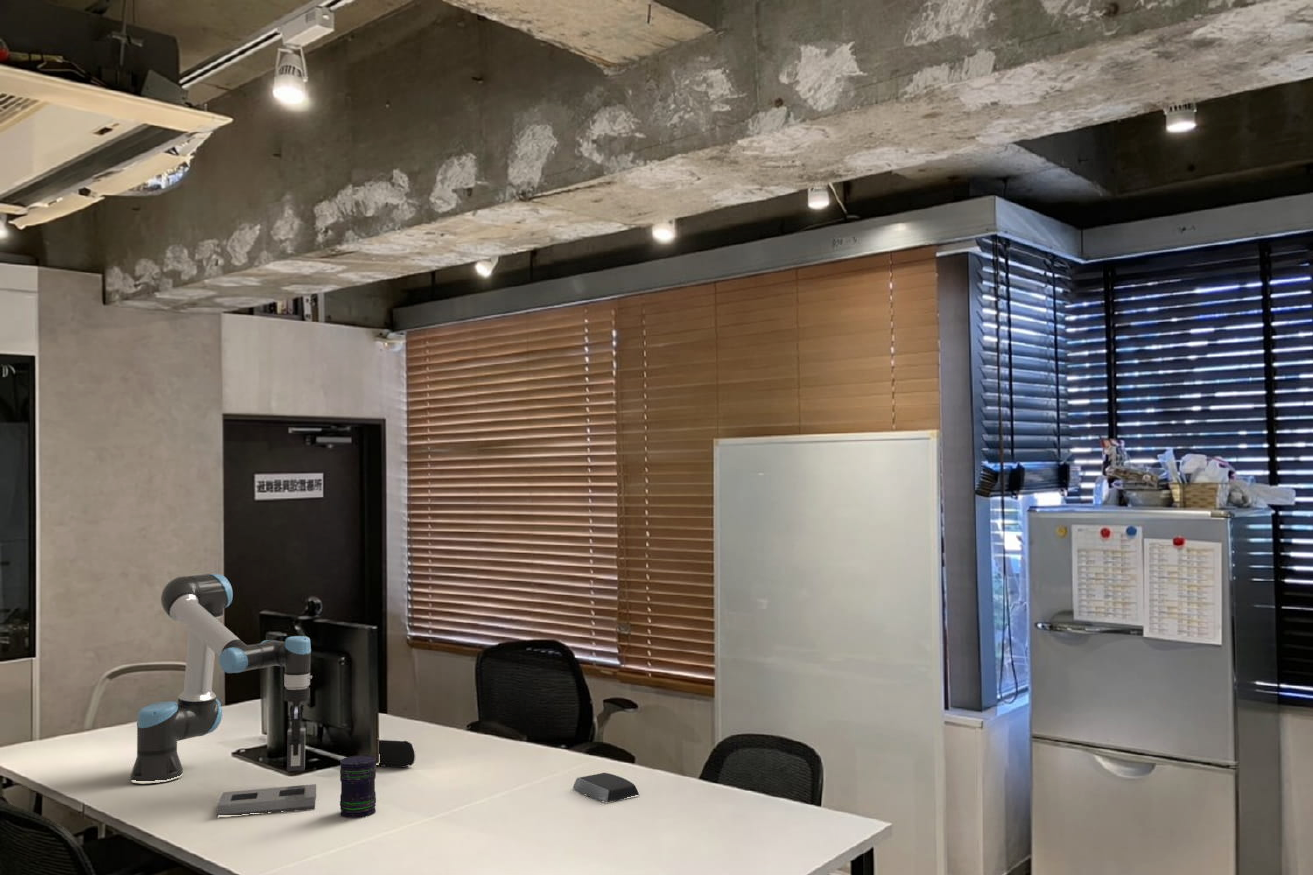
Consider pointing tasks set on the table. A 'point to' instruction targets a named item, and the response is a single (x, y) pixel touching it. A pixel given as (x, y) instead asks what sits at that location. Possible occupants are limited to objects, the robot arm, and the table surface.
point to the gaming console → (396, 752)
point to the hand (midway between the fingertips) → (296, 763)
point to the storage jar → (357, 786)
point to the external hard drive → (605, 787)
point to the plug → (302, 753)
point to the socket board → (267, 800)
